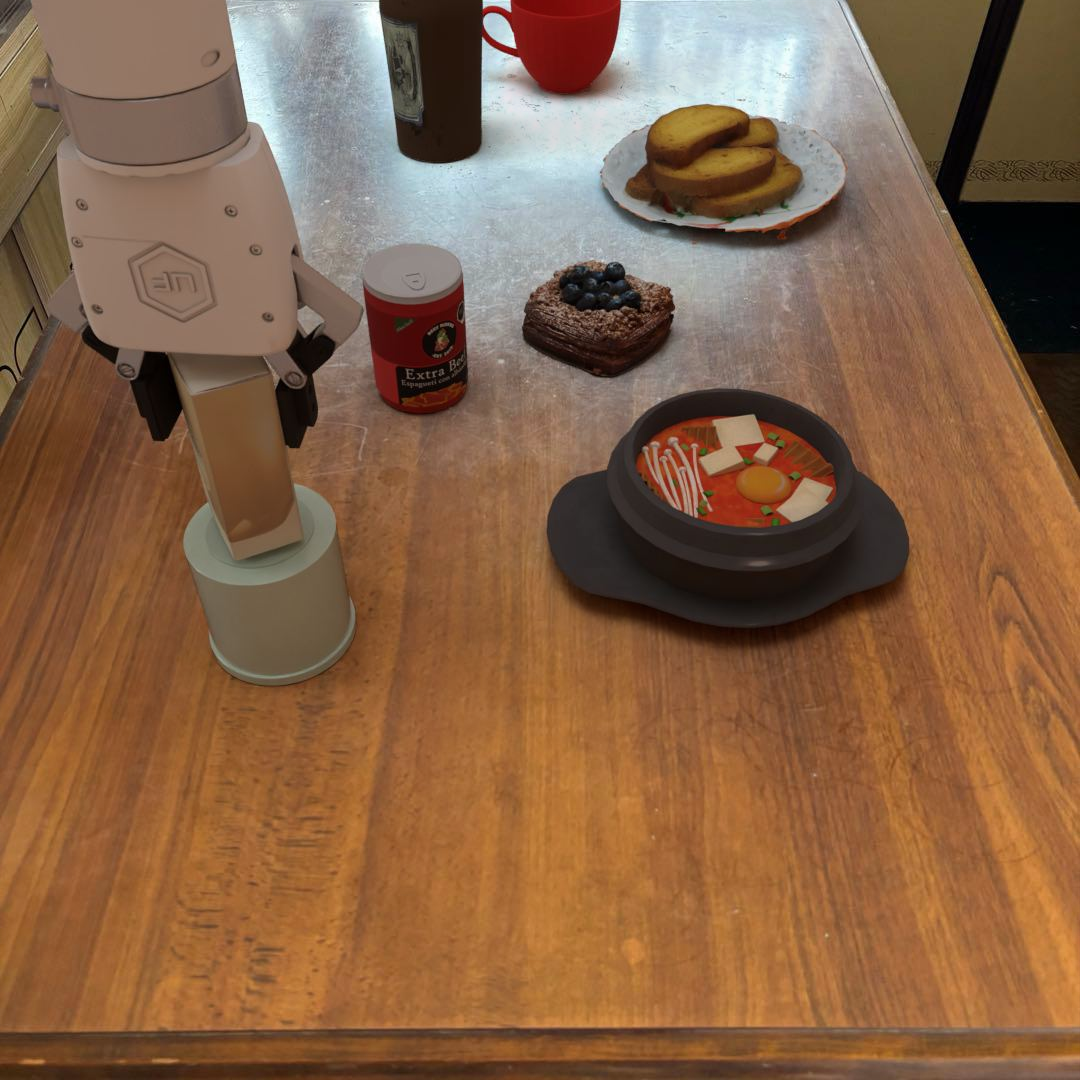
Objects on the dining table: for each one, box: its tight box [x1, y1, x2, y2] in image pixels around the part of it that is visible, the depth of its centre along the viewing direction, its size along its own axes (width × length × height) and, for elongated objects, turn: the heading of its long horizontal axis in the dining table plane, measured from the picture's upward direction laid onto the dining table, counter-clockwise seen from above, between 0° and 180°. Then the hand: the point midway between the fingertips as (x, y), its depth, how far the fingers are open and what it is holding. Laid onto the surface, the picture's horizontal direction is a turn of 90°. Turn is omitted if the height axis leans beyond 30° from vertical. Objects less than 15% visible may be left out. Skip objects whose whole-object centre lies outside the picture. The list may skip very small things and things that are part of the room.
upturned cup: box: [182, 482, 357, 687], centre depth 69 cm, size 9×9×9 cm
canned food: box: [361, 243, 469, 414], centre depth 87 cm, size 8×8×11 cm
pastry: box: [521, 259, 676, 377], centre depth 95 cm, size 11×12×6 cm
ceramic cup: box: [482, 0, 622, 95], centre depth 132 cm, size 13×17×10 cm
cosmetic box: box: [166, 352, 304, 561], centre depth 61 cm, size 6×4×12 cm
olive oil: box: [378, 0, 484, 163], centre depth 115 cm, size 11×11×25 cm
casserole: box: [546, 387, 910, 629], centre depth 75 cm, size 25×19×8 cm
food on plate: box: [599, 103, 849, 245], centre depth 114 cm, size 25×25×7 cm
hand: (233, 427), depth 60 cm, fingers closed on cosmetic box, 6 cm apart
